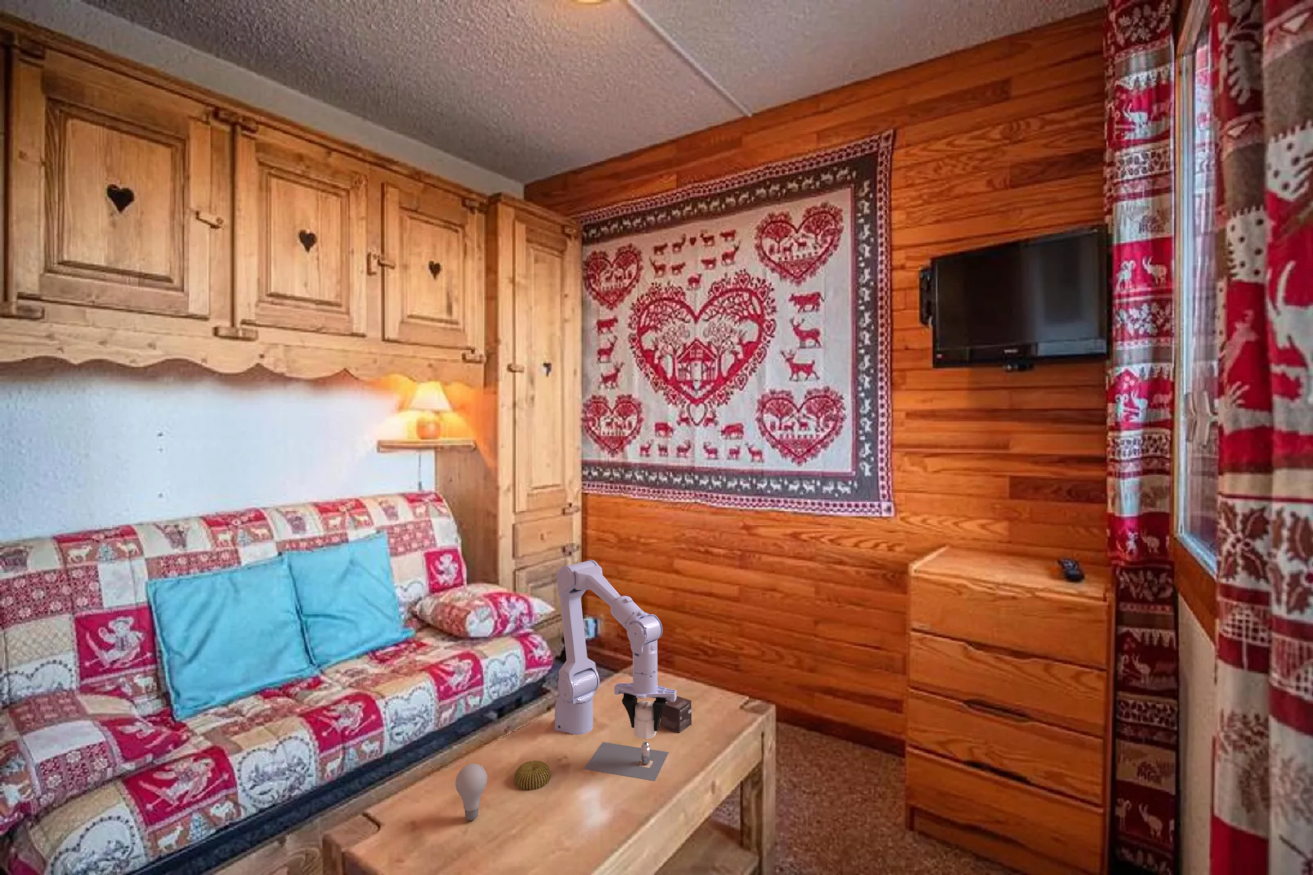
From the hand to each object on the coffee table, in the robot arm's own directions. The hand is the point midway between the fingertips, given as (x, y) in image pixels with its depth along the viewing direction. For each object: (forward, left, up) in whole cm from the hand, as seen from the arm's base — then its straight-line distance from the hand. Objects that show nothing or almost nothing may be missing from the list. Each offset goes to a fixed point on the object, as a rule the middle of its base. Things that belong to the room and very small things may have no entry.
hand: (645, 727), depth 139 cm
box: (+2, +19, -10) cm, 21 cm away
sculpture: (-22, -13, -10) cm, 28 cm away
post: (0, 0, -8) cm, 8 cm away
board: (-5, 0, -9) cm, 10 cm away
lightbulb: (-29, -27, -10) cm, 40 cm away
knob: (0, 0, -1) cm, 1 cm away
